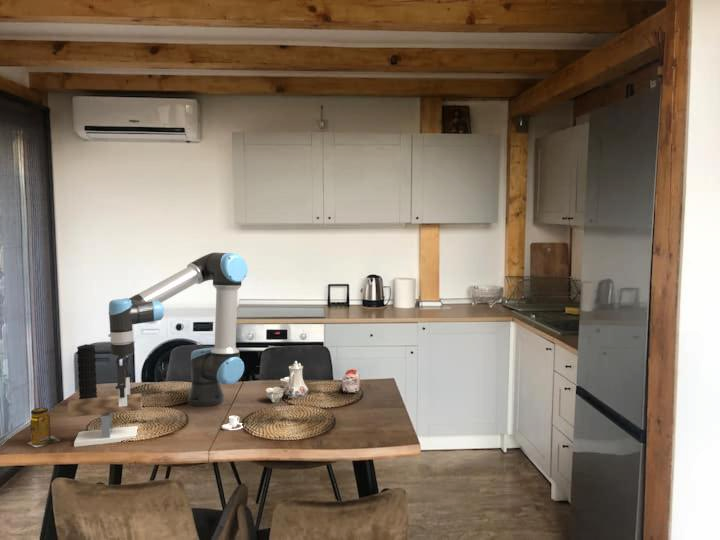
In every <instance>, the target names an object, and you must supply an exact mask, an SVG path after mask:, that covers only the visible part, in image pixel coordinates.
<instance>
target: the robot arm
mask: <svg viewBox="0 0 720 540" xmlns="http://www.w3.org/2000/svg"><path fill="white" fill-rule="evenodd" d="M247 275H248V264H247V262H246V260H245V259H244V257H243V256H242V255H240V254H238V253H234V252H210V253H208V254H205V255H203V256H200V257H199V258H197V259H195V260H194V261H192V262H190V263H188V264H187V266H186V267H185V268H184V269H183V268H182V270H179V271H178V272H176V273H174V274H172V275H171V276H169V277H167V278H165V279H163V280H161V281H159V282H158V283H156V284H154V285H152V286H150V287H148V288H146V289H144V290H142V291H141V292H139V293H138V294H134V295H133V296H131V297H129V298H128V297H127V298H120V299H119V298H118V299H112V300H110V301H109V303H108V317H109V318H108V319H109V320H108V321H109V334H108V335H107V336H108V337H109V338H110V343H111V344H110V354H111V355H113V356H118V357H117V358H116V371H117V372H116V373H117V374H116V375H117V376H116V378H117V379H116V380H117V381H116V382H117V385H116V386H115V390H117V396H118V401H119V407H122V406H127V395H130V394H131V388H130V386H131V385H130V383H131V382H130V378H132V374H131V372H130V367H129V365H130V358H129V355H132V353H134V352H135V351H134V342H133V341H134V331H133V330H134V329H133V325H137V324H146V323H155V322H157V321H158V322H159V321H162V319H163V318H164V315H165V308H164V305H163V304H162V303H164V302H165V301H167V300H169V299H171V298H173V297H175V296H176V295H178V294H179V293H181V292H183V291H185V290H187V289H189V288H190V287H192V286H194V285H195V284H197V285H200V284H203V283H204V282H207V281H212V286H213V287H214V288H215V289H216V290H215V291H216V294H215V295H216V296H215V318H214V319H215V320H214V321H215V324H214V326H215V327H214V347H204V348H199V349H198V348H197V349H195V350H193V351H191V354H190V367H191V368H190V369H191V370H190V371H191V373H190V376H191V386H190V390H189V393H188V396H187V403H188V405H189V406H190V405H191V406H193V407H209V406H215V405H219V404H221V403H223V402H224V400H225V393H224V391H223V388H222V386H221V384H222V385H234V384H235V383H237V382H238V381H239V380H240V379H241V378H242V376H243V374H244V372H245V363H244V361H243V360H242V359H241V358H240V350H239V349H238V348H237V321H238V320H237V319H238V317H237V316H238V313H237V312H238V290H239V289H240V288H241V287H242V283H243V281H244V280H245V278H246V277H247Z"/></svg>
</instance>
